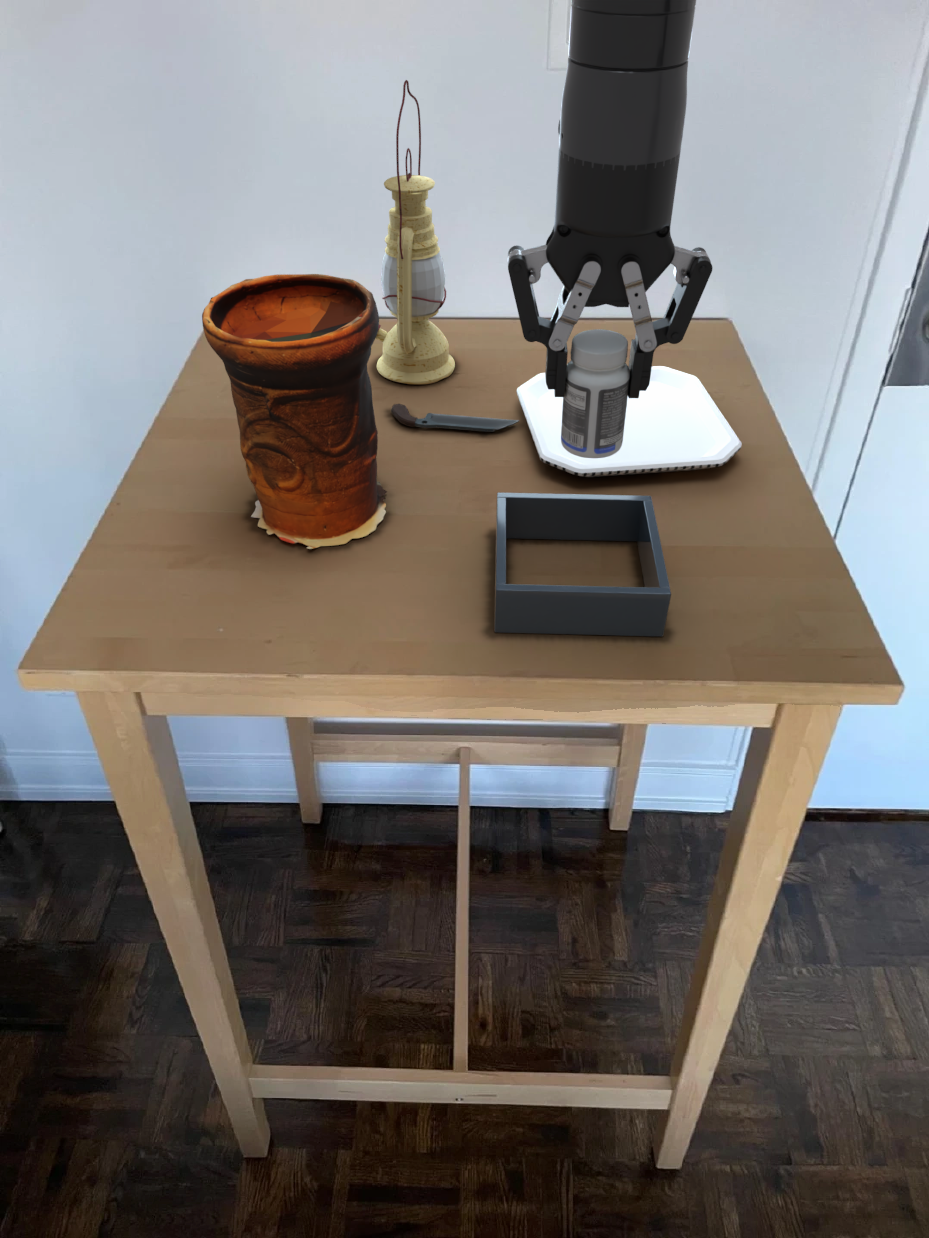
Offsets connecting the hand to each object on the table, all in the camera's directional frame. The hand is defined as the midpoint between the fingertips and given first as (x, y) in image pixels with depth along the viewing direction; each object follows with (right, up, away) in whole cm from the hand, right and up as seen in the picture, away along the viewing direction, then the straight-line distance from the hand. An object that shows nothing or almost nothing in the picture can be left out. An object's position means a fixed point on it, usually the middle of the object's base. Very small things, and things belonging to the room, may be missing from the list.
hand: (596, 392), depth 69 cm
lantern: (-16, +13, +42) cm, 47 cm away
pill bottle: (0, -4, +3) cm, 5 cm away
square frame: (0, -14, +12) cm, 18 cm away
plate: (+7, +3, +31) cm, 32 cm away
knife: (-11, +4, +32) cm, 34 cm away
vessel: (-24, -6, +20) cm, 32 cm away
